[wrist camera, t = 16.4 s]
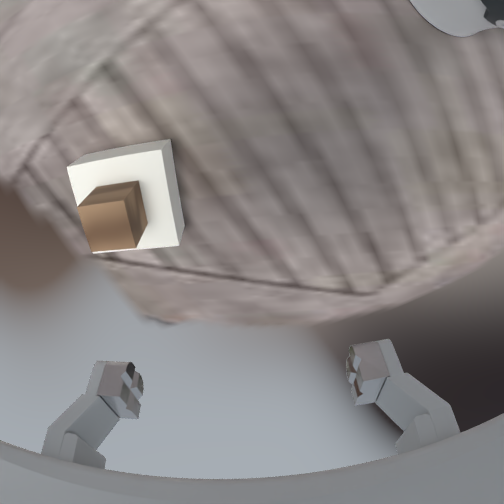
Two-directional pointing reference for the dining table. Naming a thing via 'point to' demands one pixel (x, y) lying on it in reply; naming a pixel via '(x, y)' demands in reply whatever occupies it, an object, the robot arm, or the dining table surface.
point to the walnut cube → (113, 216)
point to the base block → (150, 180)
